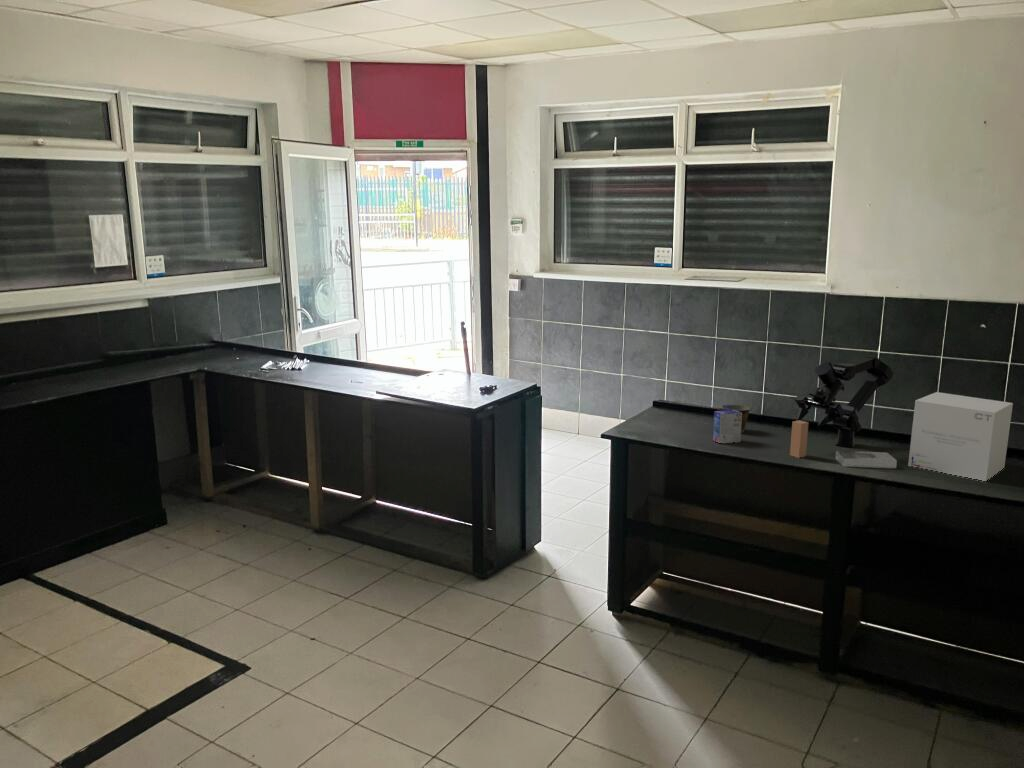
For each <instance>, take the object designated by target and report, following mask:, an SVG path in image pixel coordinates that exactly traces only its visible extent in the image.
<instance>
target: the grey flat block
mask: <svg viewBox="0 0 1024 768" xmlns="http://www.w3.org/2000/svg"><path fill="white" fill-rule="evenodd" d="M835 460H837V462H838V463H839V464H840V465H841V466H842V467H845V468H847V467H849V468H868V469H869V468H871V469H874V468H875V469H894V468H895V470H896V469H897V463H898V460H897V459H896V458H895V457H893V456H892V455H891V454H889V453H888V452H884V451H883V452H882V451H881V452H880V451H852V450H836V451H835Z"/></svg>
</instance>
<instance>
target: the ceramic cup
mask: <svg viewBox="0 0 1024 768" xmlns="http://www.w3.org/2000/svg"><path fill="white" fill-rule="evenodd" d="M730 405H731V409H732V410H737V411H740V412H742V423H741V433H744V432H745V428H746V424H747V420H748V417H749V414H750V407H748V406H746V405H741V404H730ZM724 409H730V407H725V408H724ZM716 411H723V407H722V408H721V407H720V408H718V409H716Z"/></svg>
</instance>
